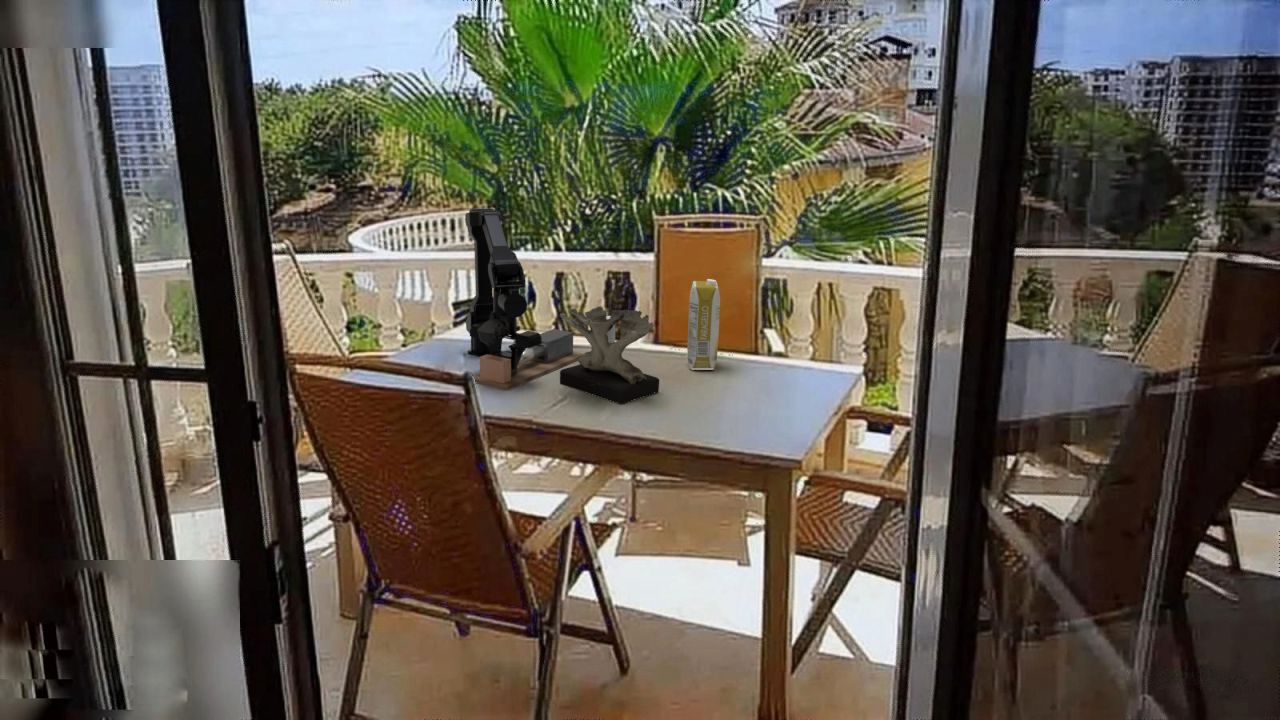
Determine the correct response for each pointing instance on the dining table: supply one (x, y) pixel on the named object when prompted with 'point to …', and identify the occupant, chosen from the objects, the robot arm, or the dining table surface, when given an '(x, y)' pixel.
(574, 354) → the walnut board
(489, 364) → the reddish brown block
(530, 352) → the steel tube
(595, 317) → the coral
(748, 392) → the dining table surface
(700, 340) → the juice carton
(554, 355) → the sleeve
